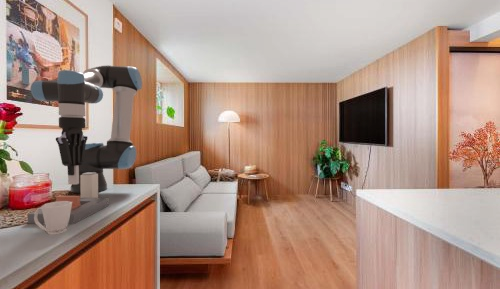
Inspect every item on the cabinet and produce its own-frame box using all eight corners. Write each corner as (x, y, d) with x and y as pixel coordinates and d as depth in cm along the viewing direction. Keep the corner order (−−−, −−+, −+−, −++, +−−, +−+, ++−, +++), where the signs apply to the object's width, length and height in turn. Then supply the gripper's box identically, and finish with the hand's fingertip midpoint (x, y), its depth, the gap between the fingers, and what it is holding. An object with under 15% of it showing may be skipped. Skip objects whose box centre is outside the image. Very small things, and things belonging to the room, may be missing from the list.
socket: (71, 205, 96) (71, 197, 96) (108, 205, 97) (108, 197, 97) (27, 223, 76) (27, 213, 76) (73, 223, 77) (73, 214, 77)
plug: (87, 198, 105) (87, 172, 105) (98, 199, 106) (98, 172, 105) (80, 201, 101) (80, 173, 100) (91, 201, 101) (91, 174, 101)
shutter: (59, 205, 85) (59, 195, 85) (80, 205, 85) (80, 195, 85) (42, 212, 78) (42, 200, 78) (65, 212, 78) (65, 201, 78)
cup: (59, 237, 67) (59, 207, 67) (23, 235, 67) (23, 206, 67) (78, 227, 74) (78, 200, 74) (45, 226, 74) (45, 200, 74)
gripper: (74, 117, 91) (75, 179, 93) (46, 115, 78) (48, 188, 80) (94, 117, 92) (95, 180, 93) (70, 116, 79) (71, 188, 80)
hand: (73, 183), depth 87 cm, fingers closed
